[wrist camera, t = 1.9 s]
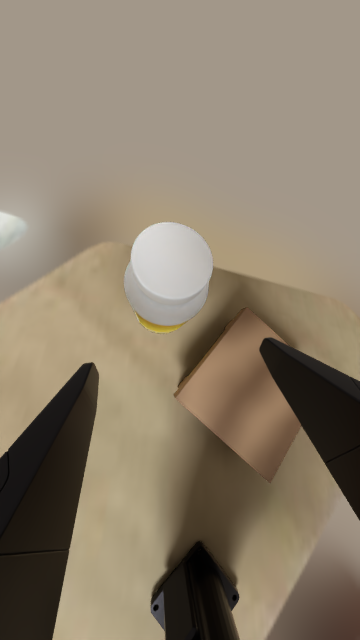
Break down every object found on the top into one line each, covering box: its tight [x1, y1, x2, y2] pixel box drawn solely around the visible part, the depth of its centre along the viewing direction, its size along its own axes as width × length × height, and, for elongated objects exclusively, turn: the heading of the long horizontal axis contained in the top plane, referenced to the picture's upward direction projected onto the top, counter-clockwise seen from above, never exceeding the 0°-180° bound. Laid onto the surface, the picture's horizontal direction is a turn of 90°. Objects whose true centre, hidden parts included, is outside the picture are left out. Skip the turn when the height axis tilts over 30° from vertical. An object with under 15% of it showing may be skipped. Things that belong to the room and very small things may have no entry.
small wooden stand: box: [174, 307, 302, 483], centre depth 18 cm, size 12×12×4 cm
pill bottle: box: [124, 222, 213, 334], centre depth 15 cm, size 6×6×12 cm
